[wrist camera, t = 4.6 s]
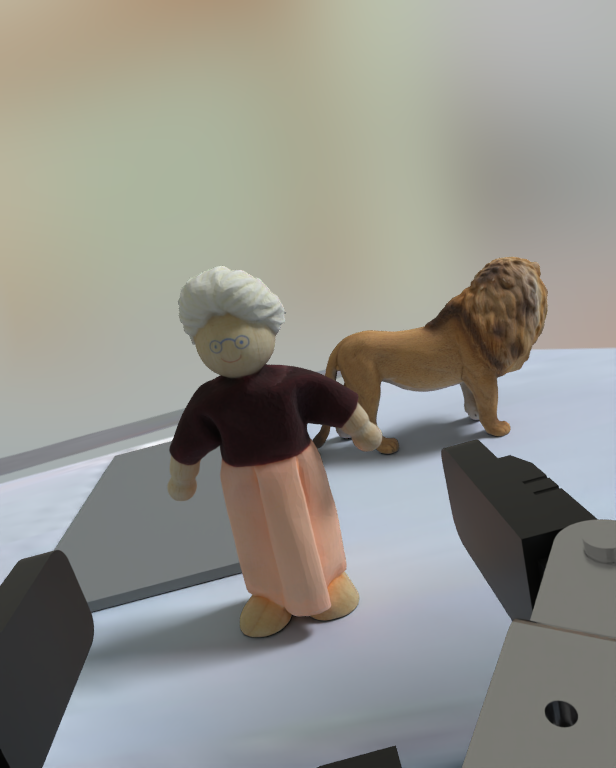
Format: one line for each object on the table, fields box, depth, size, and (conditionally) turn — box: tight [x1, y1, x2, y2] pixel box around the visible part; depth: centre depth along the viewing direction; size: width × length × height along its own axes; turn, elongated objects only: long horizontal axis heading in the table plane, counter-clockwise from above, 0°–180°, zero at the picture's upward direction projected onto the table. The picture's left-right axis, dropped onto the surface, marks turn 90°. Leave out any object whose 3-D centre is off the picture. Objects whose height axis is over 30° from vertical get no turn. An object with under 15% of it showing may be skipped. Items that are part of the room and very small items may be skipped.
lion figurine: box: [313, 257, 548, 454], centre depth 31 cm, size 15×5×9 cm, turn 88°
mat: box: [54, 441, 242, 612], centre depth 32 cm, size 14×18×1 cm
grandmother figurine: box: [167, 266, 382, 637], centre depth 19 cm, size 8×4×13 cm, turn 103°
